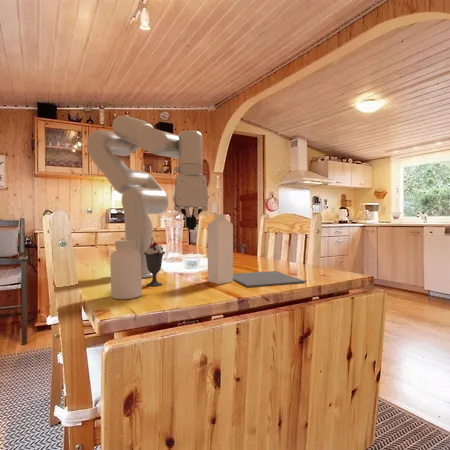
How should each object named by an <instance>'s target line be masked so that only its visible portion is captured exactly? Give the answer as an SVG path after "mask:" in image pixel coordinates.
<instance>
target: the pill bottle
mask: <svg viewBox="0 0 450 450" xmlns="http://www.w3.org/2000/svg"><path fill="white" fill-rule="evenodd" d="M135 246H136V241H135V240H125V239H123V240H115V241H114V247H115V251H113V252H112V253H110V257H109V260H110V261H109V263H110V266H109V267H110V269H109V270H110V295H111V298H112V299H115V300H129V299H131V300H132V299H136V298H139V297H141V295H142V293H143V292H142V291H143V287H142V284H143V283H142V279H143V278H141V254H140V252H139V251H137V250H135V248H136V247H135Z"/></svg>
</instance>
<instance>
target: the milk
mask: <svg viewBox="0 0 450 450" xmlns="http://www.w3.org/2000/svg"><path fill="white" fill-rule="evenodd" d="M233 225H234V223H232V222H230V221H229V220H227V215H226V214H223V213H222V214H220V213H218V214H214V219H213V220H211V221H210V222H209V223H207V281H208V282H209V283H213V284H216V285H221V284H229V283H234V280H233V274H234V226H233Z"/></svg>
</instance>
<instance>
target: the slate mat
mask: <svg viewBox="0 0 450 450" xmlns="http://www.w3.org/2000/svg"><path fill="white" fill-rule="evenodd" d="M234 281H235V282H236V283H238V284H241V286H244V287H246V288H257V287H269V286H270V287H272V286H282V285H284V284H285V285H295V284H296V283H298V284H305V283H306V280H304V279H300V278H298V277H296V276H295V277H294V276H291V275H288V274H285V273H282V272H280V271H277V270H271V271H270V270H269V271H256V272H252V271H251V272H241V273H240V272H239V273H237V272H236V273H233V282H234Z"/></svg>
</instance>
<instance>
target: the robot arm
mask: <svg viewBox="0 0 450 450" xmlns="http://www.w3.org/2000/svg"><path fill="white" fill-rule="evenodd" d="M111 127H112V131H111V130H106V129H105V130H103V129H99V130H94V131H91V132H90V133H89V134H88V136H87V140H86V147H87V152H88V154H89V157H90V159H91V161H92V162H93V163H94V165H95V166H96V167H97V168H98V169H99V170H100V171H101V172H102V173H103V175H104V176H105V178H106V179H107V180H108V182H109V183H110V184H111V186H112V187H113V188H114V190H115V191H116V192H117V193H118V194H122V196H121V207H122V210H123V215H124V236H125V237H124V238H125V239H124V240H135V241H136V246H135V247H136V248H135V250H137V251H139V252H140V254H141V279H145V278H146V279H147V278H151V277H152V278H153V275H152V273H150V272H149V271H148V268H147V262H146V256H145V254H144V252H147V250H148V248H149V247H150V245H151V240H152V239H151V238H152V237H153V231H154V230H153V223H152V220H151V218H150V216H149V215H159V214H162V213H164V212H166V211H167V209H168V207H169V197H168V195H167V193H166V192H165V190H164V189H163V188H162V186H161V185H160V184H159V183H158V182H157V180H156V179H155V178H154V177H153V176H152V175H151V174H150V173H148V172H146V171H143V170H137V169H136V170H135V169H132V168H130V167H128V166H127V165H126V164H125V163H124V161H123V160H122V159H121V158H119V157H118V156H120V157H127V156H130V155H132V154H133V153H135V152H136V151H138V149H141V150H143V151H146V152H148V153H151V154H153V155H156V156H161V157H167V158H169V159H177V160H178V165H177V166H174V167H173V172H176V173H178V174H177V175H176V177H175V185H174V195H173V197H174V199H173V200H174V207H173V211H175V212H179V213H181V214H182V215H183V216H184V217H185V227H186V228H187V230H188V231H195V230H196V229H195V228H197V217H198V216H199V215H200V213H203V212H207V211H208V205H209V192H208V184H207V177H206V175H203V173H204V172H203V171H204V170H203V168H204V166H203V163H204V162H203V161H204V160H203V158H204V157H203V156H204V155H203V151H204V150H203V148H204V147H203V134H202V133H201V132H200V131H198V130H192V129H188V130H187V129H186V130H182V131H181V132H179V134H175V133H171V132H168V131H163V130H160V129H157V128H154V126H153V125H152V124H151V123H149V122H147V121H146V120H142V119H140V118H136V117H132V116H129V115H119V116H116V117H115V118H114V119H113V121H112V125H111ZM190 208H192V212H191V213H190ZM153 238H154V237H153ZM153 243H154V239H153V240H152V244H153ZM156 276H158V273H157V274H156Z"/></svg>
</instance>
